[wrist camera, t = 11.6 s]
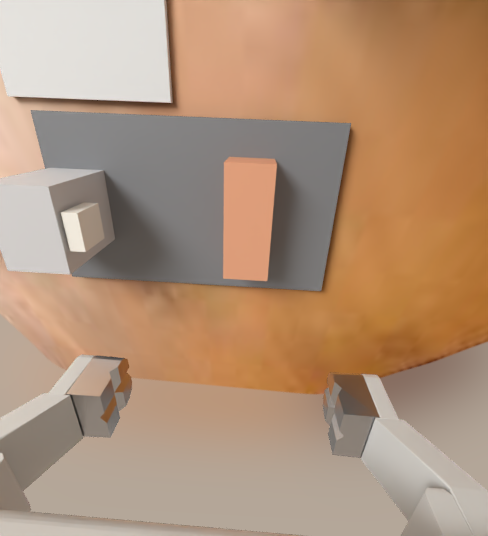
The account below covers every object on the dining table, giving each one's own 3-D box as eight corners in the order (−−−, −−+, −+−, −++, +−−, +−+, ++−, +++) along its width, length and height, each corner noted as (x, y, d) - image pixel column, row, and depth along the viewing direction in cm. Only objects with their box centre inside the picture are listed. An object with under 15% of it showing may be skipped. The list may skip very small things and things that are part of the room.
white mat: (-48, -127, 20) (-56, -134, 19) (158, -124, 19) (155, -131, 19) (13, 96, 26) (7, 96, 25) (172, 103, 25) (170, 102, 25)
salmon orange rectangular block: (229, 156, 26) (223, 162, 22) (274, 158, 26) (276, 164, 22) (227, 260, 30) (223, 278, 27) (266, 262, 30) (267, 281, 26)
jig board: (38, 110, 26) (-60, 105, 18) (347, 123, 25) (387, 123, 17) (77, 272, 33) (19, 318, 25) (319, 286, 32) (338, 339, 24)
